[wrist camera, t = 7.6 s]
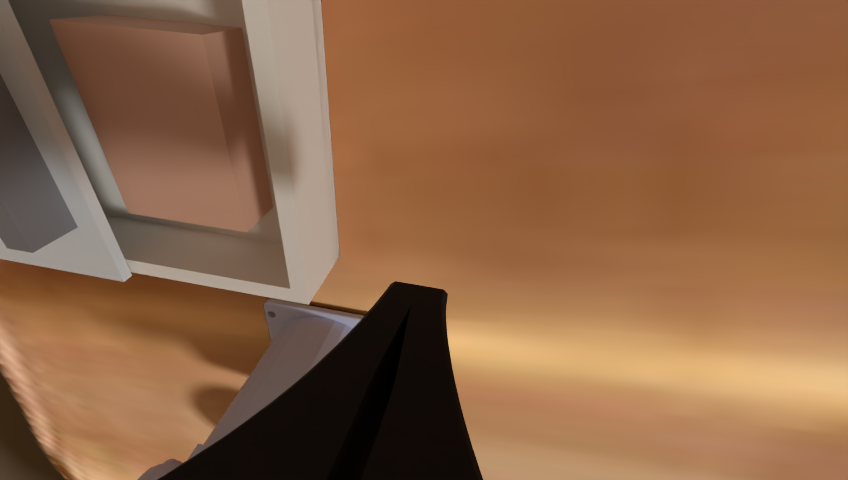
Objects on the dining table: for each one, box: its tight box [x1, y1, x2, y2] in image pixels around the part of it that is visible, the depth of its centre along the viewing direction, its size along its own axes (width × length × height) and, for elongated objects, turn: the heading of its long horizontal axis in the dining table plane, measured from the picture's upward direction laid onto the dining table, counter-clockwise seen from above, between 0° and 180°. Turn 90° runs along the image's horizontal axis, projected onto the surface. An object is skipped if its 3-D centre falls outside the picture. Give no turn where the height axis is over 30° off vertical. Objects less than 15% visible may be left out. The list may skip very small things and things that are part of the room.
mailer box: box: [8, 0, 339, 305], centre depth 17 cm, size 14×18×4 cm
